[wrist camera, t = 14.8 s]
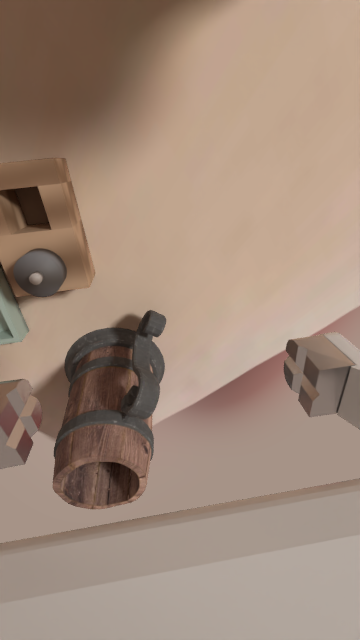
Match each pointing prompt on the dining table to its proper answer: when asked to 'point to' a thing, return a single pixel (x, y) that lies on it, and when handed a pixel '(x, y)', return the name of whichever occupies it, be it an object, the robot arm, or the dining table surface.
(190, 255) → the dining table surface
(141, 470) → the tankard
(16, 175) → the block
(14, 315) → the tray
